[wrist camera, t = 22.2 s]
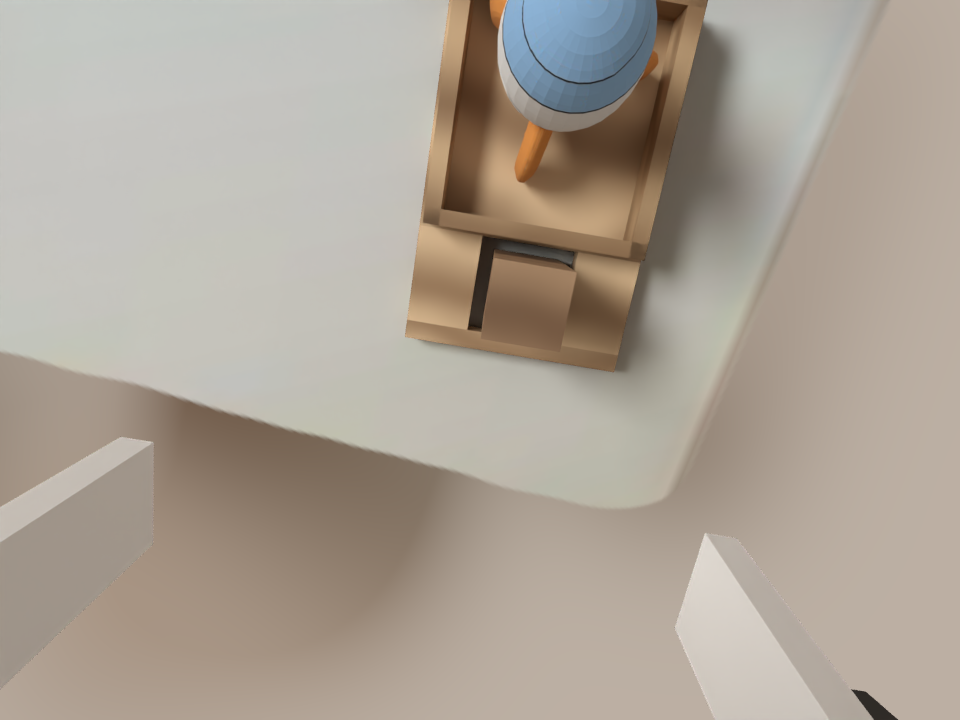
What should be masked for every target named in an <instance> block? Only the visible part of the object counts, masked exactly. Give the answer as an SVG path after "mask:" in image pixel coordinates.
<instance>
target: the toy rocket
mask: <svg viewBox="0 0 960 720" xmlns="http://www.w3.org/2000/svg"><path fill="white" fill-rule="evenodd" d="M490 12H491V19H492V22H493V24H494V25H495V26H496V27H497V28H498V29H499V32H498V67H499V71H500V76H501V80H502V83H503V86H504V89H505V91H506V94H507V96H508V98H509V99H510V101H511V103H512V104H513V106H514V107H515V109H516V110H517V111H518V112H519V113H522V115H523V116H524V117H525V118H527V119H528V120H529V122H528V125H527V129H526V131H525V133H524V138H523V141H522V144H521V147H520V150H519V153H518V155H517V159H516V162H515V167H514V170H515V174H516V179H517V181H518V182H521V183H524V182H525V181H527V180H528V179H529V178H531V177H532V176H533V175H534V173H535V172H536V170H537V168H538V166H539V164H540V162H541V159H542V157H543V154H544V152H545V150H546V147H547V145H548V142H549V140H550V137H551V134H552V132H553V131H557V132H570V131H575V130H580V129H584V128H588V127H590V126H592V125H594V124H597V123H599V122H601V121H602V120H604V119H605V118H606V117H608V116H609V115H610V114H612V113H613V112H614V111H616V110H617V109H618V108H619V107H620V105H621V104H622V103H623V102H624V101H625V100H626V99H627V98H628V97H629V95H630V94H631V93H632V91H633V89H634V88H635V86H636V85H637V83H638V82H639V81H641V80H643V79H644V78H645V77H647V76H648V75H649V74H650V73H651V72H652V71H653V70H654V69H655V67H656V66H657V65H658V54H657V53H656V52H655V51H653V46H654V42H655V38H656V28H657V7H656V0H490Z"/></svg>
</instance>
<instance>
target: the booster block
mask: <svg viewBox="0 0 960 720" xmlns="http://www.w3.org/2000/svg"><path fill="white" fill-rule="evenodd" d="M576 275H577V272H576V271H574V270H573V269H571V268H570V267H568V266H567V265H565V264H564V263H562V262H561V261H559V260H557V259H551V258H546V257H540V256H534V255H528V254H522V253H516V252H511V251H505V250H499V249H494V255H493V261H492V267H491V273H490V279H489V285H488V291H487V296H486V302H485V308H484V315H483V323H482V332H481V339H484V340H490V341H496V342H502V343H508V344H514V345H520V346H526V347H532V348H538V349H544V350H549V351H555V352H560V350H561V345H562V340H563V336H564V331H565V326H566V322H567V317H568V312H569V308H570V303H571V298H572V293H573V289H574V284H575V279H576Z"/></svg>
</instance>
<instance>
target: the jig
mask: <svg viewBox="0 0 960 720" xmlns="http://www.w3.org/2000/svg"><path fill="white" fill-rule="evenodd" d="M707 2H708V0H656V7H657V28H656V38H655V42H654V46H653V51H655V52H656V53H657V54H658V65H657V66H656V67H655V69H654V70H653V71H652V72H651V73H650V74H649V75H648V76H647V77H645V78H644V79H643V80H641V81H639V82H638V83H637V85H636V86H635V88H634V89H633V91H632V93H631V94H630V95H629V97H628V98H627V99H626V100H625V101H624V102H623V103H622V104H621V105H620V107H619V108H618V109H617V110H616V111H614V112H613V113H612V114H610V115H609V116H608V117H606V118H605V119H604V120H602V121H601V122H599V123H597V124H594V125H592V126H590V127H588V128H584V129H580V130H575V131H570V132H557V131H553V132H552V134H551V137H550V140H549V142H548V145H547V147H546V150H545V152H544V154H543V157H542V159H541V162H540V164H539V166H538V168H537V170H536V172H535V173H534V175H533V176H532V177H531V178H529V179H528V180H527V181H525V182H524V183H521V182H518V181H517V179H516V174H515V170H514V167H515V162H516V159H517V155H518V153H519V150H520V147H521V144H522V141H523V138H524V133H525V131H526V129H527V125H528V122H529V120H528V119H527V118H525V117H524V116H523V115H522V113H519V112H518V111H517V110H516V109H515V107H514V106H513V104H512V103H511V101H510V99H509V98H508V96H507V94H506V91H505V89H504V86H503V83H502V80H501V76H500V71H499V67H498V32H499V29H498V28H497V27H496V26H495V25H494V24H493V22H492V19H491V12H490V0H449V7H448V15H447V22H446V30H445V37H444V45H443V52H442V60H441V68H440V75H439V83H438V90H437V98H436V106H435V113H434V121H433V128H432V136H431V143H430V151H429V159H428V166H427V174H426V181H425V189H424V196H423V204H422V212H421V219H420V227H419V234H418V242H417V249H416V257H415V265H414V272H413V280H412V287H411V295H410V303H409V310H408V318H407V325H406V333H405V337H408V338H414V339H420V340H426V341H432V342H438V343H444V344H450V345H456V346H462V347H468V348H474V349H480V350H486V351H491V352H497V353H503V354H509V355H515V356H521V357H527V358H533V359H539V360H545V361H551V362H557V363H563V364H569V365H575V366H580V367H586V368H592V369H598V370H604V371H610V372H614V370H615V366H616V362H617V357H618V353H619V349H620V345H621V341H622V337H623V333H624V329H625V325H626V320H627V316H628V312H629V308H630V304H631V300H632V296H633V292H634V288H635V283H636V279H637V275H638V271H639V267H640V263H641V260H642V261H644V260H645V256H646V251H647V247H648V243H649V239H650V235H651V231H652V227H653V223H654V219H655V215H656V211H657V207H658V202H659V198H660V194H661V190H662V186H663V182H664V178H665V174H666V170H667V166H668V162H669V158H670V153H671V149H672V145H673V141H674V137H675V133H676V129H677V125H678V121H679V117H680V113H681V109H682V104H683V100H684V96H685V92H686V88H687V84H688V80H689V76H690V72H691V68H692V64H693V60H694V55H695V51H696V47H697V43H698V39H699V35H700V31H701V27H702V23H703V19H704V15H705V11H706V6H707ZM483 236H487V237H492V238H498V239H504V240H510V241H516V242H521V243H527V244H533V245H539V246H545V247H551V248H556V249H562V250H568V251H574V252H575V253H574V258H573V263H572V268H571V269H573V270H574V271H576V272H577V275H576V279H575V284H574V289H573V293H572V298H571V303H570V308H569V312H568V317H567V322H566V326H565V331H564V336H563V340H562V345H561V350H560V352H555V351H549V350H544V349H538V348H532V347H526V346H520V345H514V344H508V343H502V342H496V341H490V340H484V339H481V332H482V328H479V327H473V326H468V324H469V318H470V312H471V306H472V300H473V294H474V288H475V282H476V275H477V269H478V263H479V257H480V251H481V245H482V239H483Z"/></svg>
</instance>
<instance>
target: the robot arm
mask: <svg viewBox="0 0 960 720" xmlns="http://www.w3.org/2000/svg"><path fill="white" fill-rule="evenodd" d="M153 446H154V442H149V441H143V440H137V439H131V438H125V437H120V438H118V439H116V440H115V441H113V442H111V443H109V444H108V445H106V446H104V447H103V448H101V449H99V450H97V451H96V452H94V453H92V454H91V455H89V456H87V457H85V458H84V459H82V460H80V461H79V462H77V463H75V464H73V465H72V466H70V467H68V468H66V469H65V470H63V471H61V472H60V473H58V474H56V475H54V476H53V477H51V478H49V479H48V480H46V481H44V482H42V483H41V484H39V485H37V486H36V487H34V488H32V489H30V490H29V491H27V492H25V493H24V494H22V495H20V496H18V497H17V498H15V499H13V500H12V501H10V502H8V503H6V504H5V505H3V506H1V507H0V689H1V688H2V687H3V686H4V685H5V684H6V683H7V682H9V681H10V680H11V679H12V678H13V677H14V676H15V675H16V674H17V673H18V672H19V671H20V670H21V669H22V668H23V667H24V666H25V665H26V664H27V663H28V662H30V661H31V660H32V659H33V658H34V657H35V656H36V655H37V654H38V653H39V652H40V651H41V650H42V649H43V648H44V647H45V646H46V645H47V644H48V643H50V642H51V641H52V640H53V639H54V638H55V637H56V636H57V635H58V634H59V633H60V632H61V631H62V630H63V629H64V628H65V627H66V626H67V625H69V624H70V623H71V622H72V621H73V620H74V619H75V618H76V617H77V616H78V615H79V614H80V613H81V612H82V611H83V610H84V609H85V608H86V607H87V606H89V605H90V604H91V603H92V602H93V601H94V600H95V599H96V598H97V597H98V596H99V595H100V594H101V593H102V592H103V591H104V590H105V589H106V588H107V587H109V586H110V585H111V584H112V583H113V582H114V581H115V580H116V579H117V578H118V577H119V576H120V575H121V574H122V573H123V572H124V571H125V570H126V569H127V568H128V567H130V566H131V565H132V564H133V563H134V562H135V561H136V560H137V559H138V558H139V557H140V556H141V555H142V554H143V553H144V552H145V551H146V550H147V549H148V548H150V547H151V546H152V545H153V467H154V463H153V461H154V458H153V457H154V454H153V453H154V447H153ZM675 630H676V632H677V634H678V637H679V639H680V641H681V643H682V646H683V648H684V650H685V653H686V655H687V657H688V659H689V662H690V664H691V666H692V668H693V671H694V673H695V675H696V678H697V680H698V682H699V685H700V687H701V689H702V691H703V694H704V696H705V698H706V701H707V703H708V705H709V707H710V710H711V712H712V714H713V717H714V719H715V720H898V719H897V718H895V717H894V716H893V715H892V714H891V713H889V712H888V711H887V710H886V709H885V708H884V707H883V706H882V705H880V704H879V703H878V702H877V701H876V700H875V699H874V698H872V697H871V696H870V695H869V694H868V693H867V692H864V691H858V690H852V689H850V688H849V686H848V685H847V683H846V682H845V681H844V680H843V678H842V677H841V676H840V674H839V673H838V672H837V670H836V669H835V668H834V666H833V665H832V664H831V662H830V661H829V660H828V658H827V657H826V656H825V654H824V653H823V652H822V650H821V649H820V648H819V646H818V645H817V644H816V642H815V641H814V640H813V638H812V637H811V636H810V634H809V633H808V632H807V630H806V629H805V628H804V626H803V625H802V624H801V623H800V621H799V620H798V619H797V617H796V616H795V615H794V613H793V612H792V611H791V609H790V608H789V607H788V605H787V604H786V603H785V601H784V600H783V599H782V597H781V596H780V595H779V593H778V592H777V591H776V589H775V588H774V587H773V585H772V584H771V583H770V581H769V580H768V579H767V577H766V576H765V575H764V573H763V572H762V571H761V570H760V568H759V567H758V566H757V564H756V563H755V562H754V560H753V559H752V558H751V556H750V555H749V554H748V552H747V551H746V550H745V548H744V547H743V546H742V544H741V543H740V542H739V540H738V539H737V538H733V537H727V536H721V535H715V534H708V533H705V535H704V538H703V541H702V544H701V547H700V551H699V554H698V557H697V560H696V563H695V566H694V570H693V573H692V576H691V579H690V582H689V585H688V589H687V592H686V595H685V598H684V601H683V604H682V607H681V610H680V614H679V617H678V620H677V623H676V626H675Z"/></svg>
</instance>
